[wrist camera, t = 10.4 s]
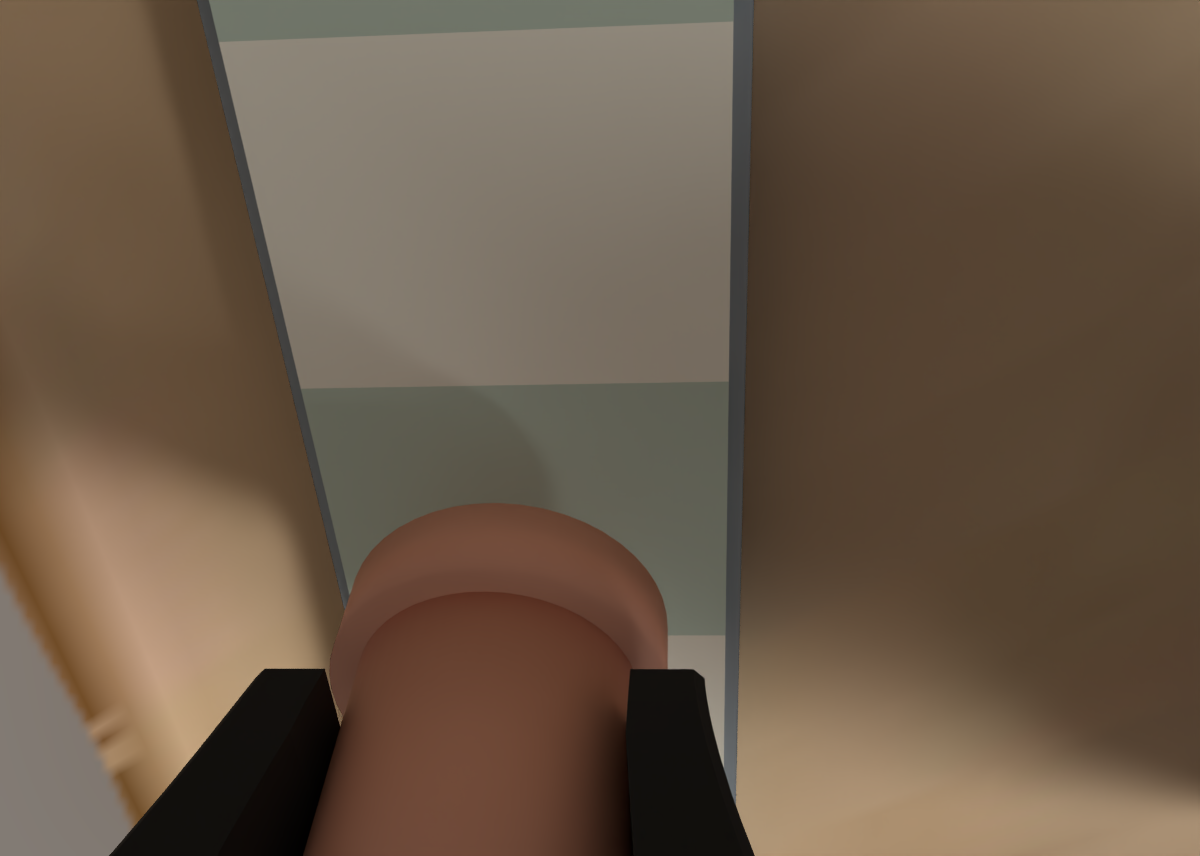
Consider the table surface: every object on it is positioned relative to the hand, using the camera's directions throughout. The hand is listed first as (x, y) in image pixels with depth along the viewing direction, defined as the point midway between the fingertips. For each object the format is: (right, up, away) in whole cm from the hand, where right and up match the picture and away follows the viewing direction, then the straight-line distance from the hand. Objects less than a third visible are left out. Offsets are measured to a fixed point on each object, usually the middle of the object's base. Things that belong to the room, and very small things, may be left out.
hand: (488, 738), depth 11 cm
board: (0, +1, +5) cm, 5 cm away
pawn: (0, +1, +1) cm, 2 cm away
